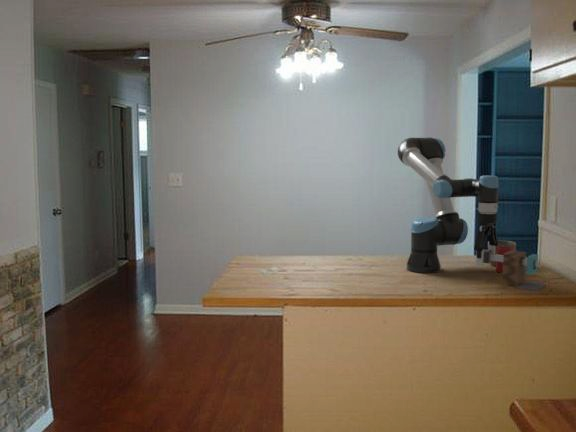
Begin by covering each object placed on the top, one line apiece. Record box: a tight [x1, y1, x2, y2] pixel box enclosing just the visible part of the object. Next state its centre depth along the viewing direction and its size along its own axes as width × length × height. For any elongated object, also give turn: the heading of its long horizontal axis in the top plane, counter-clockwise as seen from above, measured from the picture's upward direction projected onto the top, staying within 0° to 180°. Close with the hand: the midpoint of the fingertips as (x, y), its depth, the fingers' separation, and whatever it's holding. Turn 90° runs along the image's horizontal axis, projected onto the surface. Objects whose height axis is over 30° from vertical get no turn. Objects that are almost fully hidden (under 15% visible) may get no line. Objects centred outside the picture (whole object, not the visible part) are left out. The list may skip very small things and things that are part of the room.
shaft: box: [483, 248, 540, 267], centre depth 242 cm, size 23×4×5 cm, turn 50°
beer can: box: [495, 244, 512, 274], centre depth 263 cm, size 7×7×12 cm
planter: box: [487, 239, 517, 267], centre depth 277 cm, size 12×12×11 cm
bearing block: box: [501, 250, 527, 288], centre depth 241 cm, size 6×9×13 cm, turn 140°
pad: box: [516, 280, 547, 292], centre depth 238 cm, size 8×12×1 cm, turn 140°
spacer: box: [525, 253, 539, 276], centre depth 236 cm, size 2×7×7 cm, turn 140°
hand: (485, 263), depth 249 cm, fingers open, 12 cm apart
